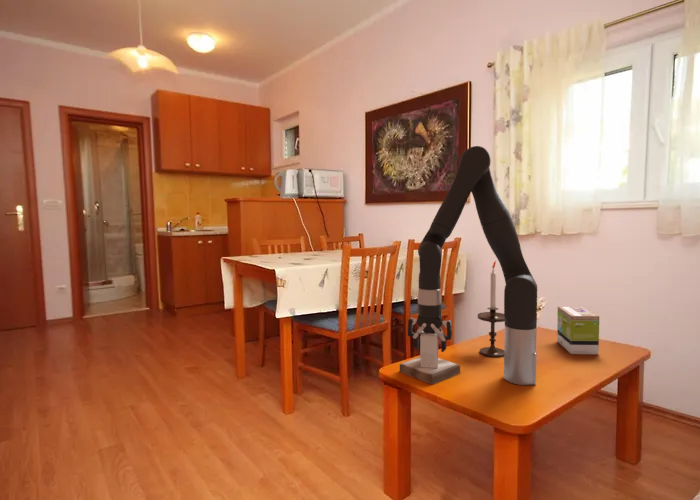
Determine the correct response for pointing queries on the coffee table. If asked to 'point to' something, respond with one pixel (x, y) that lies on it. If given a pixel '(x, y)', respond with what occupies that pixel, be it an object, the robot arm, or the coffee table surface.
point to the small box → (429, 350)
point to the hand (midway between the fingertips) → (429, 350)
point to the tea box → (578, 330)
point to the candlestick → (492, 320)
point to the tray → (430, 370)
